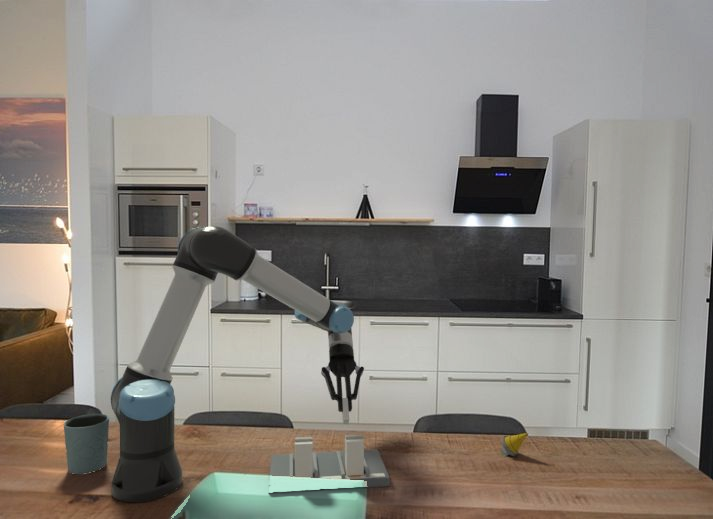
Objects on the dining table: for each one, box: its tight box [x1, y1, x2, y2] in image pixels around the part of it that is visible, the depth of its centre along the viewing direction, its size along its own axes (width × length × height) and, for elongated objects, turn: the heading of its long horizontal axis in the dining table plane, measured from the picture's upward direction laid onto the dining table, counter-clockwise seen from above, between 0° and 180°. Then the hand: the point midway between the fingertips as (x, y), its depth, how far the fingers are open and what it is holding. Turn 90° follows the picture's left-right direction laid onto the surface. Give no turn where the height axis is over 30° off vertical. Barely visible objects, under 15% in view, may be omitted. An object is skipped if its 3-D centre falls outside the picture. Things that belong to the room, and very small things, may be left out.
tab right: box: [344, 434, 365, 476], centre depth 114 cm, size 4×4×9 cm
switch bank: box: [269, 448, 391, 488], centre depth 118 cm, size 28×16×3 cm, turn 98°
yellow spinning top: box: [500, 432, 529, 457], centre depth 130 cm, size 5×5×10 cm
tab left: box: [294, 436, 314, 478], centre depth 113 cm, size 4×4×9 cm
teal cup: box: [63, 413, 110, 474], centre depth 121 cm, size 10×10×12 cm
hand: (346, 421), depth 132 cm, fingers closed
